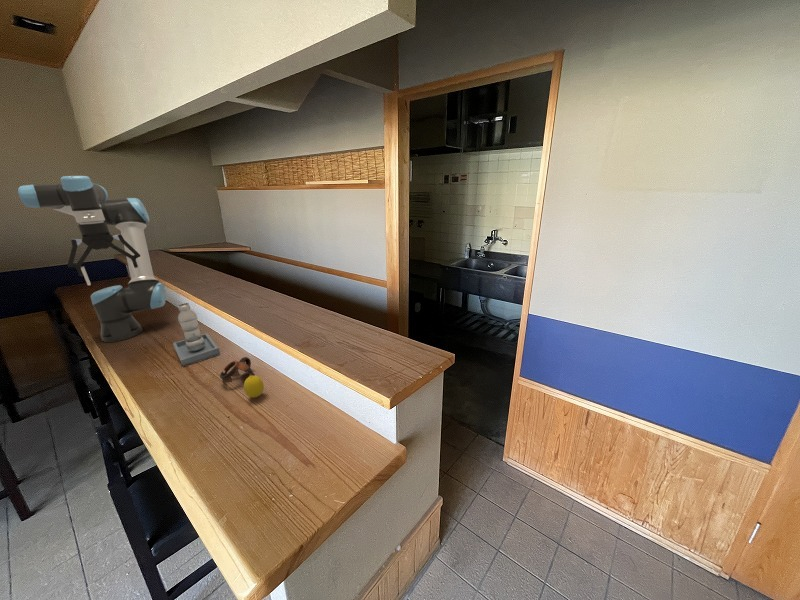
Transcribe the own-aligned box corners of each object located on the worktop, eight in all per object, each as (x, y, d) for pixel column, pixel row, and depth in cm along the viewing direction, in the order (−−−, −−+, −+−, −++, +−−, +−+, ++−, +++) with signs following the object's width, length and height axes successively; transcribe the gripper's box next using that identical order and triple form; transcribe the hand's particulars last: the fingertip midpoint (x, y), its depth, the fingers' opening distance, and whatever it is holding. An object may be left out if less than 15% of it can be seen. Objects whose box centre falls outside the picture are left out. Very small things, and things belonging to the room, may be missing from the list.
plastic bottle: (184, 352, 131) (169, 307, 124) (198, 344, 137) (185, 301, 130) (195, 354, 129) (181, 308, 122) (209, 346, 134) (196, 302, 127)
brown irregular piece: (251, 388, 107) (232, 373, 103) (231, 397, 110) (212, 383, 106) (263, 362, 117) (246, 347, 113) (244, 371, 120) (228, 357, 116)
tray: (174, 349, 136) (172, 343, 135) (208, 338, 144) (207, 332, 143) (183, 367, 122) (180, 360, 121) (220, 354, 130) (218, 347, 128)
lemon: (247, 394, 103) (241, 373, 100) (265, 390, 105) (260, 369, 102) (246, 404, 98) (241, 383, 95) (266, 399, 100) (260, 378, 97)
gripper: (39, 227, 102) (66, 290, 110) (136, 219, 118) (155, 274, 125) (42, 226, 108) (68, 286, 115) (135, 218, 123) (152, 271, 130)
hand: (113, 280), depth 120 cm, fingers open, 13 cm apart
